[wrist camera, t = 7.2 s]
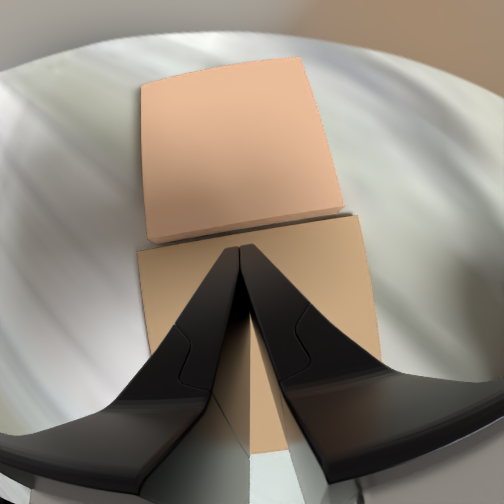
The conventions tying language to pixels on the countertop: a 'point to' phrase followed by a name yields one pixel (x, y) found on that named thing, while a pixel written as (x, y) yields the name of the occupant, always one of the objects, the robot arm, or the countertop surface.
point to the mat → (295, 269)
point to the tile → (234, 150)
